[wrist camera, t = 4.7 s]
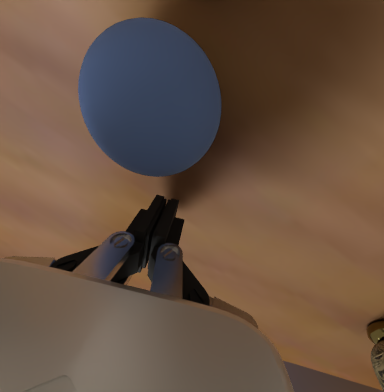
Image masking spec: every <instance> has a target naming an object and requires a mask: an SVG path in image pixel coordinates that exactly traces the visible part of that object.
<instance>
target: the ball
mask: <svg viewBox="0 0 384 392" xmlns="http://www.w3.org/2000/svg"><path fill="white" fill-rule="evenodd" d="M78 93H79V102H80V107H81V111H82V115H83V118H84V121H85V124H86V126H87V128H88V130H89V132H90V134H91V136H92V137H93V139H94V140H95V142H96V143H97V145H98V146H99V147H100V148H101V149H102V151H103V152H104V153H105V154H106V155H107V156H109V157H110V158H111V159H112V160H113V161H115V162H116V163H117V164H119V165H120V166H122V167H124V168H126V169H128V170H130V171H132V172H135V173H138V174H142V175H147V176H156V177H159V176H169V175H173V174H176V173H180V172H182V171H184V170H186V169H188V168H190V167H191V166H193V165H194V164H195V163H196V162H198V161H199V160H200V159H201V158H202V157H203V156H204V155H205V153H206V152H207V151H208V149H209V148H210V146H211V144H212V143H213V141H214V139H215V136H216V134H217V131H218V128H219V124H220V118H221V94H220V88H219V83H218V80H217V77H216V74H215V71H214V69H213V67H212V65H211V63H210V61H209V59H208V57H207V56H206V54H205V53H204V51H203V50H202V49H201V48H200V46H199V45H198V44H197V43H196V42H195V41H194V40H193V39H192V38H191V37H190V36H188V35H187V34H186V33H185V32H183V31H182V30H180V29H178V28H177V27H175V26H173V25H171V24H169V23H167V22H164V21H161V20H157V19H153V18H134V19H127V20H124V21H121V22H118V23H116V24H114V25H112V26H111V27H109V28H107V29H106V30H105V31H104V32H103V33H101V34H100V35H99V36H98V37H97V38H96V39H95V41H94V42H93V43H92V45H91V46H90V47H89V49H88V51H87V53H86V55H85V57H84V60H83V63H82V66H81V70H80V76H79V85H78Z"/></svg>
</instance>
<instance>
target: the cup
mask: <svg viewBox="0 0 384 392" xmlns="http://www.w3.org/2000/svg"><path fill="white" fill-rule="evenodd" d="M367 335H368V338H369V339H370V340H371V341H372V342H373V343H374V344H375V346H374V347H373V349H372V351H371V361H372V365H373V368H374V371H375V374H376V376H377V378H378V380H379V383H380V385H381V387H382V389H383V391H384V320H382V321H377V322H374V323H372V324H370V325H369V326H368V327H367Z"/></svg>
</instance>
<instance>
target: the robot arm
mask: <svg viewBox="0 0 384 392" xmlns="http://www.w3.org/2000/svg"><path fill="white" fill-rule="evenodd" d="M178 203H179V200H176V199H171V200H168V202H167V204H166V199H164V196H160V195H156V197H155V198H154V200H153V202H152V203H151V205H150V206H149V208H148V210H144V209H141V210H140V211H139V212H138V214H137V215H136V217H135V218H134V220H133V221H132V223H131V224H130V226H129V227H128V229H127V230H126V231H120V232H116V233H113V234H112V235H110V236H109V237H108V238H107V239H106V240H105V241H104V242H103V243H102V244H101V245H100V246H97V247H93V248H90V249H87V250H84V251H81V252H78V253H74V254H71V255H68V256H65V257H62V258H60V259H58V260H55V258H48V257H19V256H12V257H5V258H0V392H294V391H293V387H292V384H291V381H290V379H289V376H288V373H287V370H286V368H285V365H284V363H283V361H282V358H281V356H280V354H279V352H278V351H277V349H276V347H275V346H274V344H273V343H272V342H271V341H270V340H269V338H268V337H267V336H265V335H264V334H263V333H262V332H261V331H260V330H259V329H258V325H257V323H256V321H255V320H254V319H253V317H252V316H251V315H249V314H248V313H246V312H244V311H242V310H240V309H238V308H236V307H234V306H232V305H230V304H228V303H226V302H224V301H222V300H220V299H218V298H216V297H214V298H212V297H210V296H208V294H207V292H206V290H205V289H204V288H203V287H202V285H201V284H200V283H199V281H198V280H197V279H196V278H195V276H194V275H193V274H192V272H191V271H190V270H189V268H188V267H187V266H186V265H185V263H184V262H183V253H182V250H181V248H180V247H179V246H178V244H179V240H180V236H181V232H182V228H183V224H184V219H180V218H176V217H175V216H176V212H177V207H178ZM148 260H149V262H148ZM147 263H148V276H149V278H150V280H151V282H152V284H151V289H150V291H148V290H144V289H140V288H136V287H132V286H128V285H127V284H128V282H129V281H130V279H131V277H132V275H133V274H135V273H137V272H141V269H142V268H145V267H146V265H147Z"/></svg>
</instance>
